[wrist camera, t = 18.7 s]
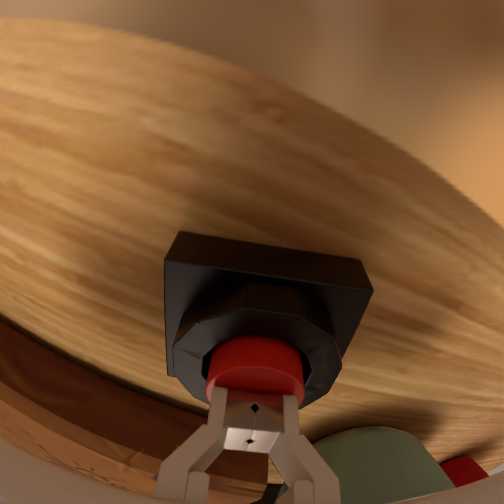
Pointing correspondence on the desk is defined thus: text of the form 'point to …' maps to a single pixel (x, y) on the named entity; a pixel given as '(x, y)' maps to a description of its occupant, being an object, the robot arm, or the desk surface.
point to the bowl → (380, 466)
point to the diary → (105, 425)
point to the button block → (259, 305)
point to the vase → (463, 471)
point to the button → (256, 367)
